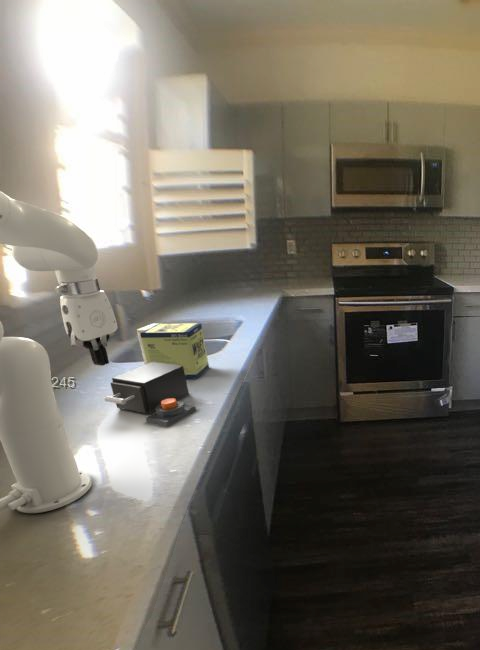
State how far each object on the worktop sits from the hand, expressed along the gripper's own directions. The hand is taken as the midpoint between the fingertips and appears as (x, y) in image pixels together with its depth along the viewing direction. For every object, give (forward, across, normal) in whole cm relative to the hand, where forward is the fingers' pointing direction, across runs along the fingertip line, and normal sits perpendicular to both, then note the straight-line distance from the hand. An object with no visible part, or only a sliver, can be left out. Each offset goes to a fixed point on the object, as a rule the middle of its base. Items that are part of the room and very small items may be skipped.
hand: (101, 363), depth 110 cm
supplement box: (+17, +40, +27) cm, 52 cm away
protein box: (+17, +34, +11) cm, 40 cm away
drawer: (+16, +10, +2) cm, 19 cm away
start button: (+14, +8, -10) cm, 19 cm away
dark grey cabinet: (+17, +14, +2) cm, 22 cm away
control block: (+16, +8, -10) cm, 21 cm away
